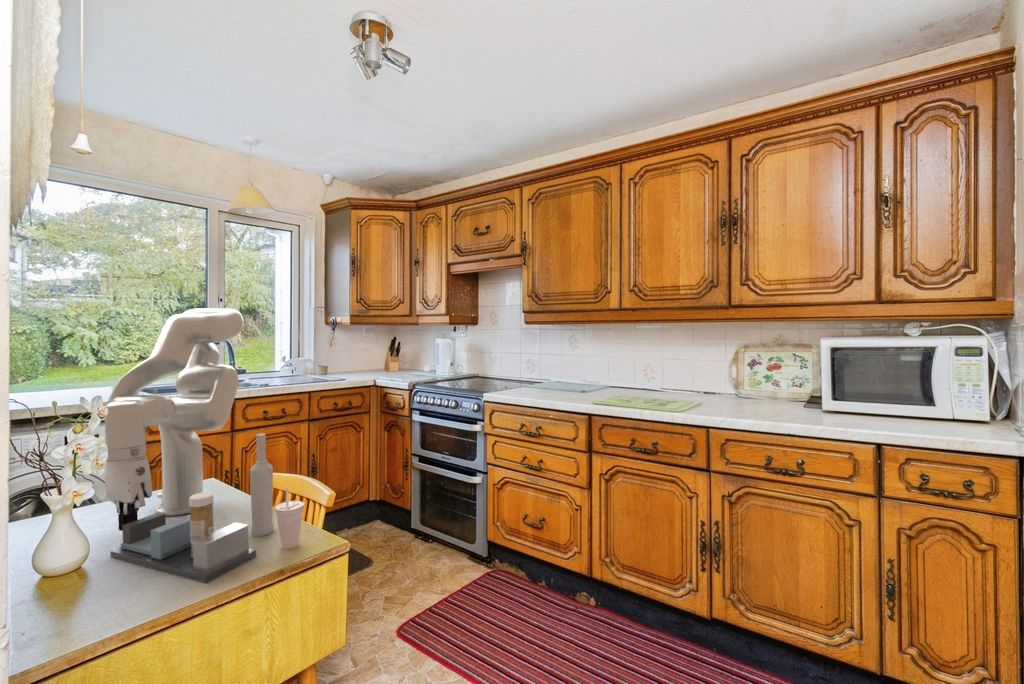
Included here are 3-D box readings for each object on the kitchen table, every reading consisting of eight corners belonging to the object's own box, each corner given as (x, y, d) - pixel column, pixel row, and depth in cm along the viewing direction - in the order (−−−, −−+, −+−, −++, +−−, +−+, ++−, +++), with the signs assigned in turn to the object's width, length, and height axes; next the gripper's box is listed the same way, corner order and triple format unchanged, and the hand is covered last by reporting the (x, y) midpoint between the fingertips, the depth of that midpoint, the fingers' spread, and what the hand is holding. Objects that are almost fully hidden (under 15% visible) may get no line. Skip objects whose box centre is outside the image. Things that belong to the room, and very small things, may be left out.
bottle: (251, 529, 123) (250, 433, 122) (274, 526, 125) (273, 431, 124) (249, 538, 118) (248, 437, 117) (273, 534, 120) (271, 435, 119)
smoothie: (270, 545, 114) (270, 487, 114) (297, 536, 119) (297, 481, 119) (281, 554, 110) (280, 494, 109) (309, 545, 115) (308, 487, 114)
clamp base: (110, 557, 108) (109, 524, 108) (164, 535, 119) (164, 505, 119) (206, 583, 98) (205, 547, 97) (255, 556, 109) (255, 523, 109)
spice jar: (219, 552, 108) (218, 493, 107) (198, 561, 104) (197, 500, 103) (205, 548, 110) (204, 490, 109) (185, 557, 105) (184, 496, 105)
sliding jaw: (118, 548, 109) (117, 522, 108) (163, 530, 118) (162, 506, 118) (160, 559, 104) (160, 532, 104) (204, 540, 113) (203, 515, 113)
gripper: (164, 452, 115) (165, 527, 116) (123, 446, 120) (125, 518, 121) (129, 460, 108) (131, 540, 109) (88, 453, 113) (90, 530, 114)
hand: (128, 528), depth 115 cm, fingers closed
